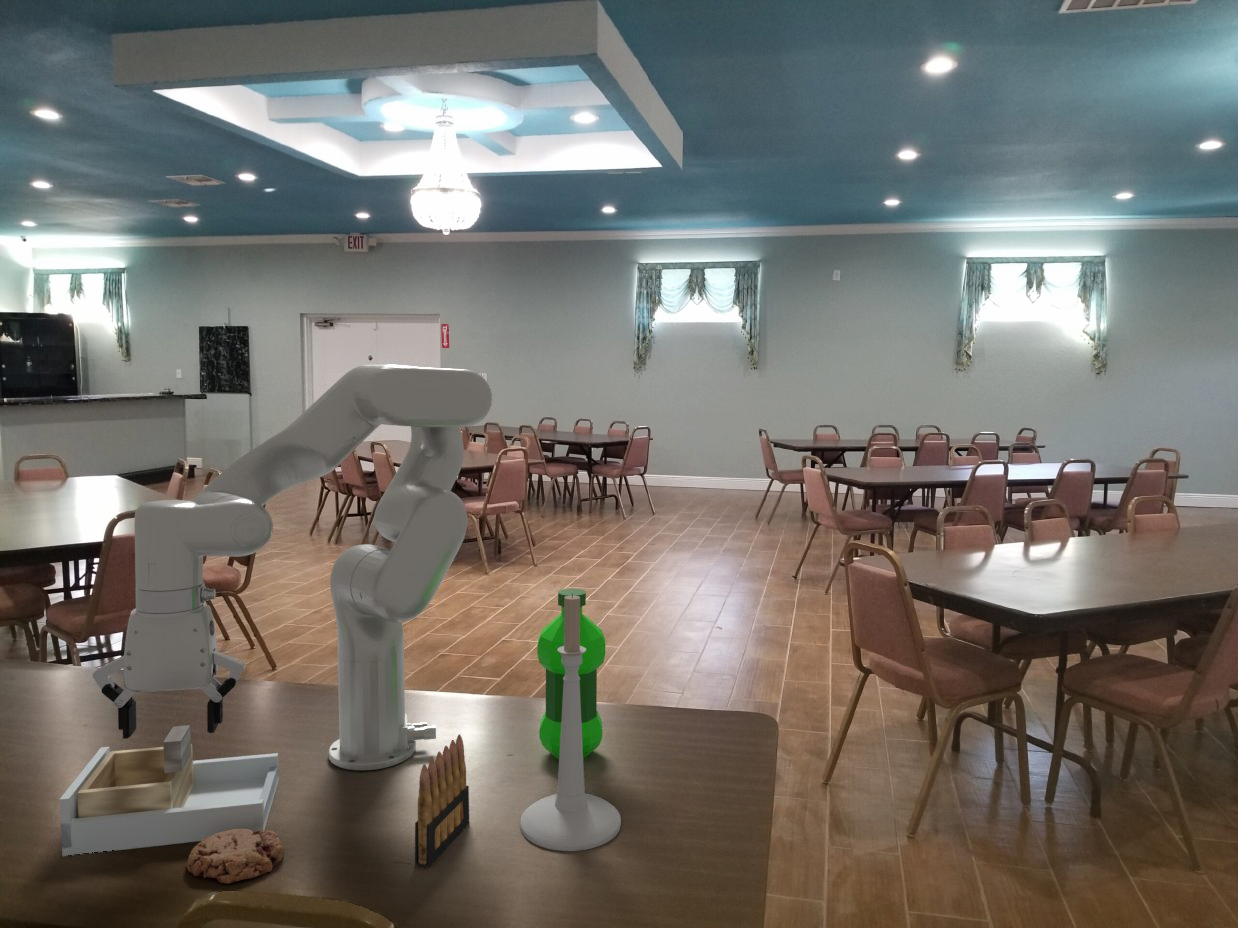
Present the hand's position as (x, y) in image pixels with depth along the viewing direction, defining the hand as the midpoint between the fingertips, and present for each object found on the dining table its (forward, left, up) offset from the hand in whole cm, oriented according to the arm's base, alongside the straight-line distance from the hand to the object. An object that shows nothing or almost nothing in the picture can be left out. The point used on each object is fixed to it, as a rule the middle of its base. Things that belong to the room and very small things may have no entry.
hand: (171, 731), depth 109 cm
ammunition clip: (-33, +14, -12) cm, 38 cm away
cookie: (-9, +13, -12) cm, 20 cm away
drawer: (+4, 0, -10) cm, 11 cm away
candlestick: (-49, +13, -12) cm, 52 cm away
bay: (-1, 0, -11) cm, 11 cm away
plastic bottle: (-53, -7, -12) cm, 55 cm away
